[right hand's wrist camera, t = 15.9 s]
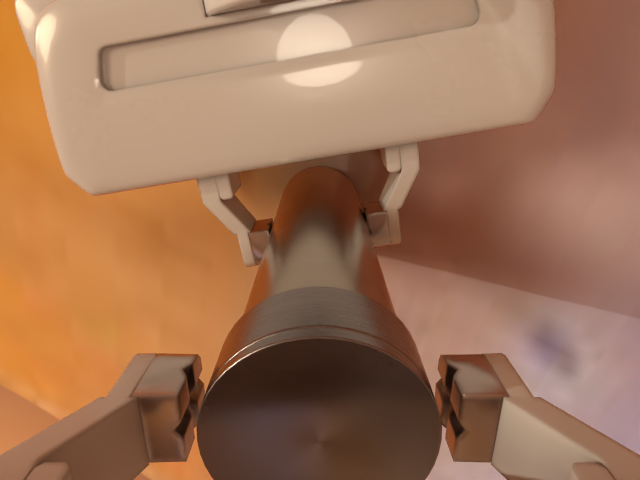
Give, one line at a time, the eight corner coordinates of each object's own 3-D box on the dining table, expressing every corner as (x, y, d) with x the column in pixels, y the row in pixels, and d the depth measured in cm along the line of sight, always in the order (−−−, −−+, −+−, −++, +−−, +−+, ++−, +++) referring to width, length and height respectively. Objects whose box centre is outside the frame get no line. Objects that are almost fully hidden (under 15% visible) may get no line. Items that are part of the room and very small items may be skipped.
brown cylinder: (278, 235, 26) (209, 492, 10) (285, 161, 24) (217, 323, 8) (352, 244, 26) (403, 509, 10) (364, 171, 25) (446, 347, 8)
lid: (215, 441, 12) (193, 517, 10) (223, 273, 10) (198, 323, 8) (399, 459, 12) (415, 536, 10) (439, 297, 10) (468, 351, 8)
